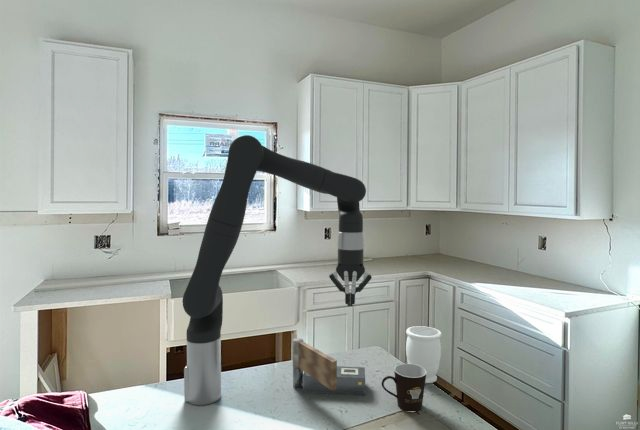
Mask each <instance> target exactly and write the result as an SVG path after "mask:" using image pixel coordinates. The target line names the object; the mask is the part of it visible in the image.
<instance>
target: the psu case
mask: <svg viewBox="0 0 640 430" xmlns="http://www.w3.org/2000/svg"><path fill="white" fill-rule="evenodd" d="M302 392H303V393H315V394H332V395H333V394H335V395H336V394H337V395H355V396H356V395H357V396H365V395H366V366H365V367H361V366H344V365H343V366H339V365H337V389H336V390H333V391H332V390H330V389H329V388H327V387H326V386H324V385H323V384H321V383H320V382H318V381H317V380H316V379H314V378H313V377H311V376H310V375H308V374H307V373H305V372H304V371H303V387H302Z"/></svg>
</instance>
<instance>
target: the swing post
mask: <svg viewBox="0 0 640 430" xmlns="http://www.w3.org/2000/svg"><path fill="white" fill-rule="evenodd" d="M303 374H304V371H302V370H301V369H299V368H295V367H293V366H292V387H293V388H295V389H301V388H302V389H303Z"/></svg>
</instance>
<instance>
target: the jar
mask: <svg viewBox="0 0 640 430" xmlns="http://www.w3.org/2000/svg"><path fill="white" fill-rule="evenodd" d="M405 333H406V335H407V338H406V344H405V351H406V352H405V354H406V360H407V363H408V364H415V365H419V366H421V367H423V368H424V369H425V370H426V371H427V373H426V380H425V384H432V383H435V382H436V381H437V380H438V377H437V372H438V371H439V367H440V361H441V356H442V347H441V346H442V344H441V340H440V338H441V337H442V332H441V331H440V330H439V329H437V328H434V327H431V326H424V325H415V326H414V325H413V326H410V327H408V328H406V331H405ZM428 381H429V382H428Z"/></svg>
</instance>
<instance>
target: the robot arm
mask: <svg viewBox="0 0 640 430" xmlns="http://www.w3.org/2000/svg"><path fill="white" fill-rule="evenodd" d="M225 165H226V166H225V171H224V175H223V179H222V183H221V186H220V188H219V190H218V192H217V195H216V198H215V199H214V202H213V204H212V207H211V210H210V213H209V217H208V219H207V222H206V226H205V228H204V232H203V237H202V240H201V244H200V247H199V251H198V256H197V258H196V259H197V260H196V262H195V266H194V268H193V269H194V270H193V272H192V274H191V276H190V279H189V282H188V284H187V286H186V288H185V290H184V293H183V296H182V301H181V302H182V308H183V310H184V312H185V314H186V315H187V316H188V317H190V318H189V323H188V326H187V329H186V365H185V367H184V368H183V375H184V376H183V381H184V383H183V388H184V389H183V391H184V392H183V393H184V394H183V395H184V396H183V397H184V402H187V403H189V404H191V405H194V406H205V405H209V404H213V403H215V402H217V401H219V400H220V398H221V397H222V363H221V362H222V354H221V353H222V352H221V350H222V344H221V343H222V340H221V338H222V335H221V334H222V333H221V331H222V326H223V319H224V318H223V313H224V312H223V310H224V309H223V308H224V307H223V304H224V303H223V291H222V287H221V286H220V282H221V281H220V280H221V276H222V274H223V271H224V269H225V267H226V264H227V263H228V261H229V259H230V257H231V255H232V254H233V251H234V249H235V248H236V245H237V243H238V240H239V237H240V234H241V230H242V228H243V223H244V221H245V217H246V216H245V215H246V212H247V211H246V210H247V205H248V197H249V193H250V189H251V186H252V184H253V182H254V179H255V176H256V174H257V172H259V173H266V174H269V175H273V176H276V177H277V178H278V177H279V178H281V179H284V180H286V181H289V182H291V183H293V184H295V185H299V186H300V187H303V188H306V189H308V190H311V191H314V192H316V193H321V194H325V195H330V196H333V197H335V198H336V202H337V210H338V236H337V265H336V268H335V270H334V271H333V272H330V273H329V276H328V277H329V279H330V280H331V282H332V283H333V284H334V285H335V287H336V288H337V290H338V291H340V292H341V293H344V296H345V297H344V302H345V304H346V305H347V307H353V305H355V304H356V293H357V294H358V293H361V292H362V291H363V289H364V288H365V287H366V285H368V283H369V282H370V281H371V280H372V274H371V273H368V272H367V271H366V268H365V266H364V248H365V247H364V246H365V245H364V243H365V242H364V230H363V229H364V228H363V227H364V220H363V219H364V218H363V214H362V213H361V209H360V202H361V201H362V200H363V199H364V198H365V196H366V193H367V188H366V186H365V183H363V182H362V180H360V179H358V178H355V177H353V176H351V175H350V176H349V175H346V174H342V173H338V172H334V171H332V170H330V169H328V168H325V167H322V166H320V165H317V164H314V163H311V162H307V161H304V160H301V159H297V158H293V157H289V156H286V155H283V154H280V153H277V152H276V151H273V150H271V149H270V148H268V147H266V146H264V145H263V144H262V143H261V142H260V141H259V139H257V138H256V137H255V136H253V135H250V134H243V135H239V136H237V137H235V138H234V139H233V140H232V141H231V143H230V145H229V147H228V155H227V160H226V164H225ZM338 276H339V277H340V279H341V280H342V281H343V282H344V286H343V285H342V282H341V281H339V277H338ZM361 277H362V281H361V282H360V283H359V284H358V286H357V282H358V281H359V280H361ZM350 282H351V288H350Z"/></svg>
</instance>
